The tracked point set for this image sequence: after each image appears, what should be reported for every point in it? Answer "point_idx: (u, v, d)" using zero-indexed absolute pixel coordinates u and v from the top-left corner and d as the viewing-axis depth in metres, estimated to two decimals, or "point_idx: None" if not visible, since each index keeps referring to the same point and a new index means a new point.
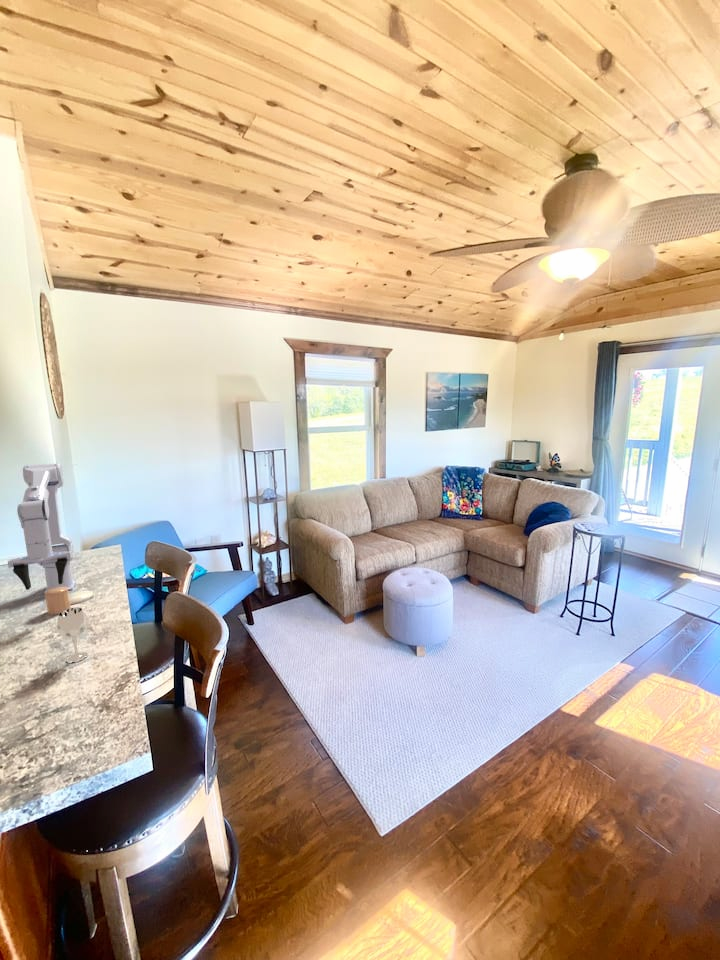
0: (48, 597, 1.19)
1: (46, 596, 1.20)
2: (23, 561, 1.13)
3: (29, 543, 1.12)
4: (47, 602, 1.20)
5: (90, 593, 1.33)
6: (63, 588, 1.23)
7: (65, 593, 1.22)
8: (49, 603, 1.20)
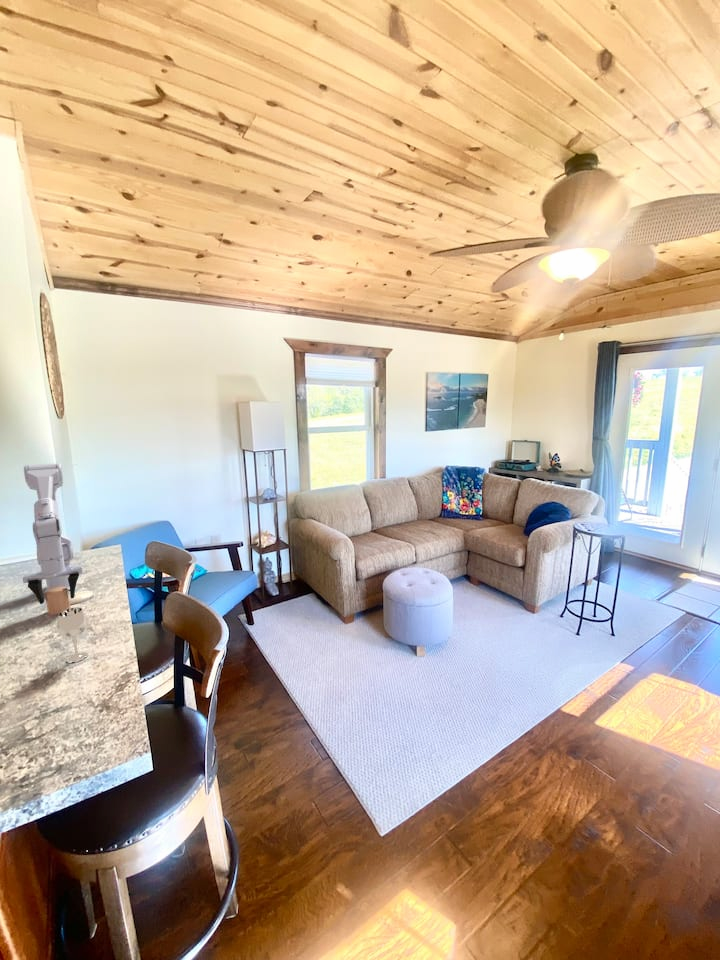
0: (48, 597, 1.19)
1: (46, 596, 1.20)
2: (37, 577, 1.18)
3: (44, 559, 1.18)
4: (47, 602, 1.20)
5: (90, 593, 1.33)
6: (63, 588, 1.23)
7: (65, 593, 1.22)
8: (49, 603, 1.20)
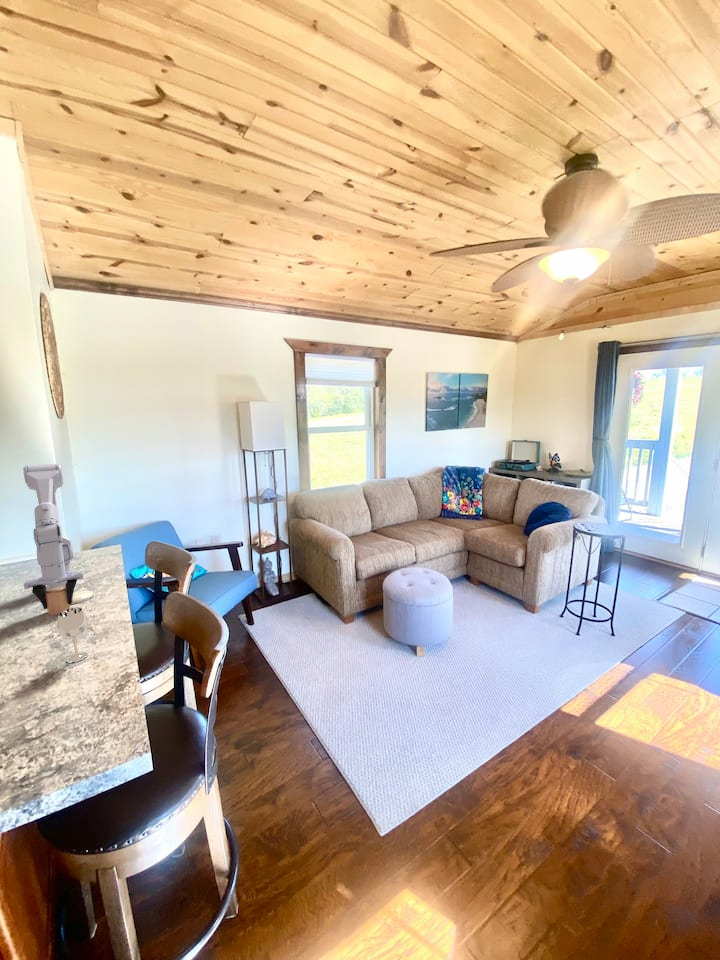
0: (48, 597, 1.19)
1: (46, 596, 1.20)
2: (38, 583, 1.18)
3: (45, 565, 1.18)
4: (47, 602, 1.20)
5: (90, 593, 1.33)
6: (63, 588, 1.23)
7: (65, 593, 1.22)
8: (49, 603, 1.20)
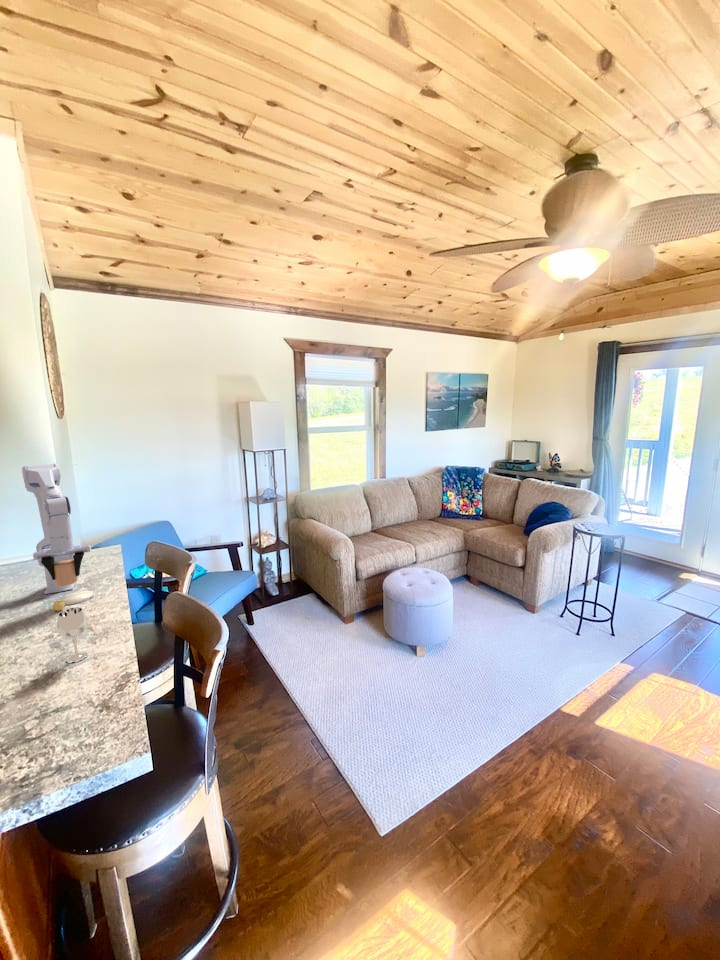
0: (56, 569, 1.23)
1: (54, 568, 1.24)
2: (47, 554, 1.22)
3: (55, 537, 1.22)
4: (55, 574, 1.24)
5: (90, 593, 1.33)
6: (71, 561, 1.27)
7: (72, 566, 1.26)
8: (57, 575, 1.24)
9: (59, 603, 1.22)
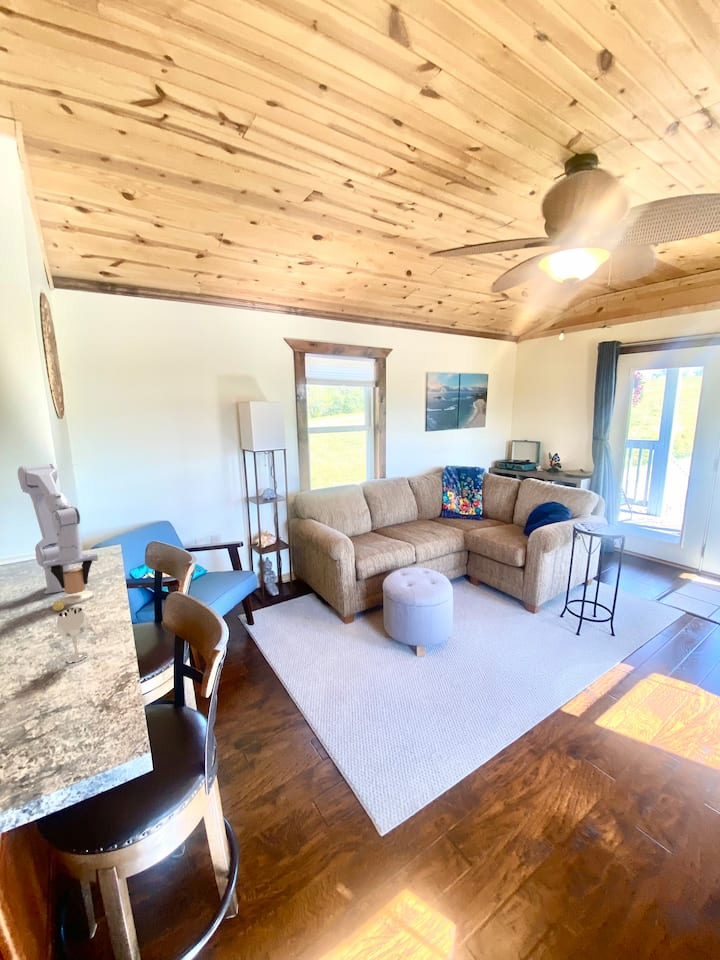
0: (65, 577, 1.27)
1: (63, 576, 1.27)
2: (56, 563, 1.26)
3: (66, 546, 1.26)
4: (64, 582, 1.28)
5: (90, 593, 1.33)
6: (79, 569, 1.30)
7: (81, 574, 1.29)
8: (66, 583, 1.27)
9: (59, 603, 1.22)
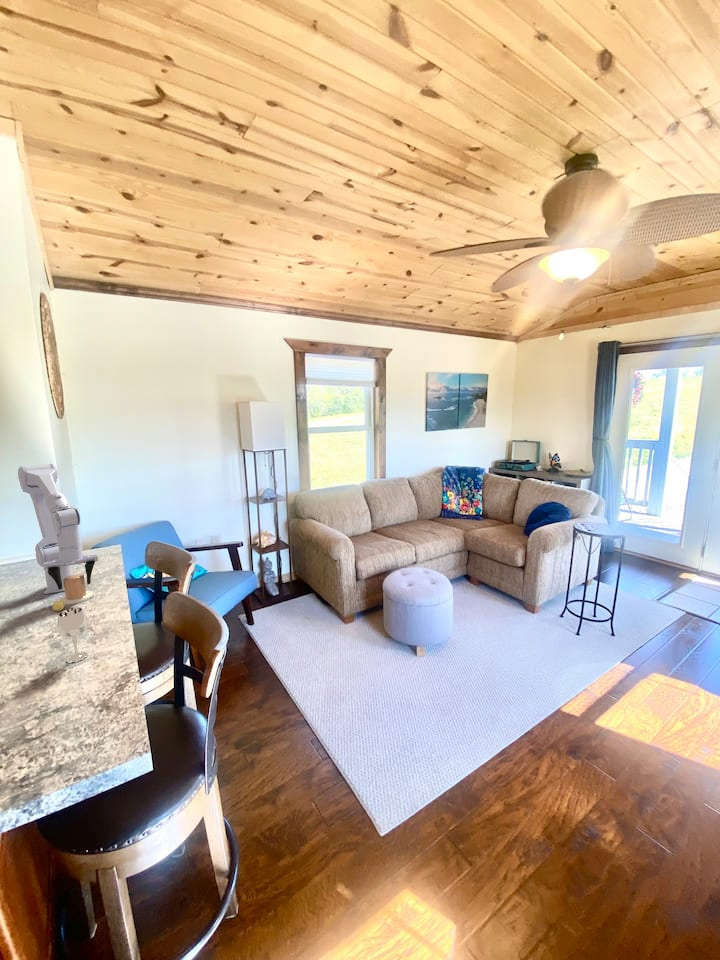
0: (66, 583, 1.27)
1: (64, 583, 1.28)
2: (56, 564, 1.26)
3: (66, 547, 1.26)
4: (65, 588, 1.28)
5: (90, 593, 1.33)
6: (80, 575, 1.31)
7: (82, 580, 1.30)
8: (67, 589, 1.28)
9: (59, 603, 1.22)
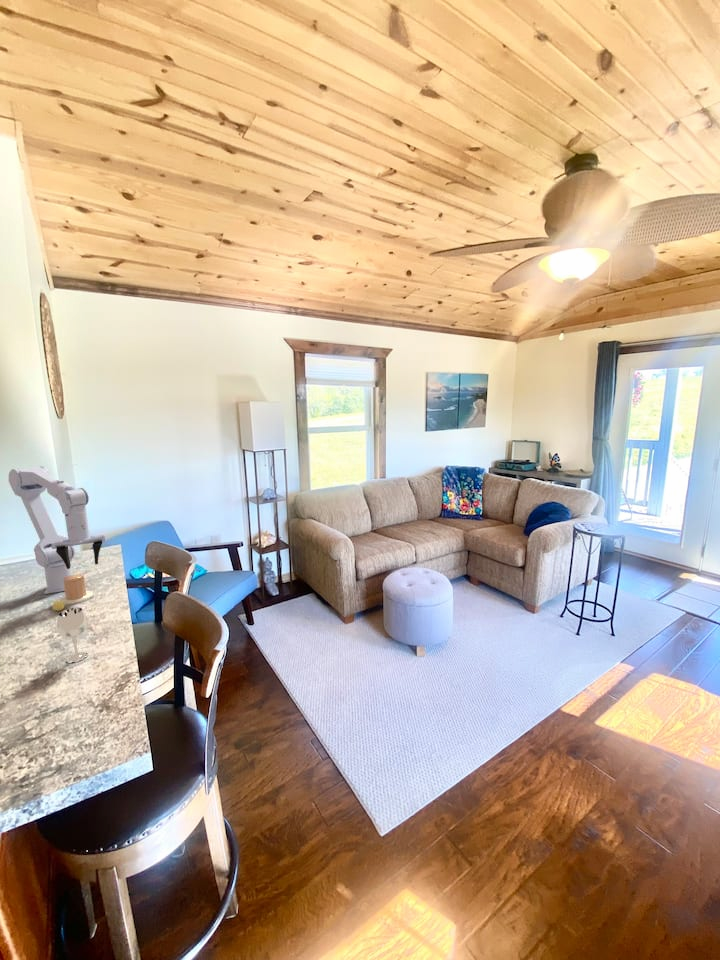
0: (66, 583, 1.27)
1: (64, 583, 1.28)
2: (65, 543, 1.27)
3: (76, 526, 1.27)
4: (65, 588, 1.28)
5: (90, 593, 1.33)
6: (80, 575, 1.31)
7: (82, 580, 1.30)
8: (67, 589, 1.28)
9: (59, 603, 1.22)
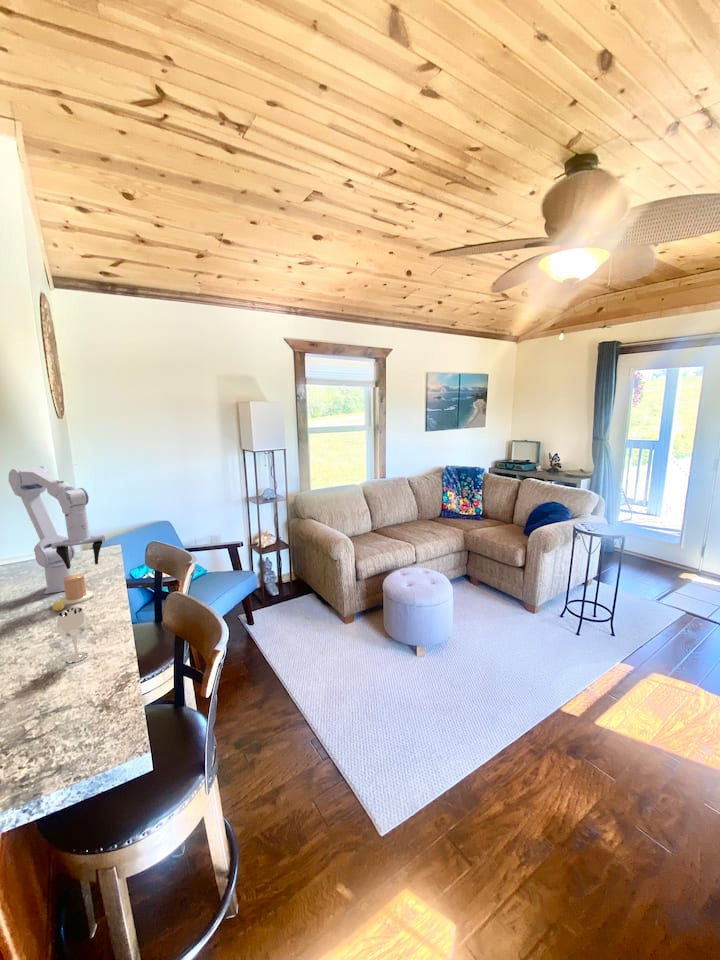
0: (66, 583, 1.27)
1: (64, 583, 1.28)
2: (65, 543, 1.27)
3: (76, 526, 1.27)
4: (65, 588, 1.28)
5: (90, 593, 1.33)
6: (80, 575, 1.31)
7: (82, 580, 1.30)
8: (67, 589, 1.28)
9: (59, 603, 1.22)
